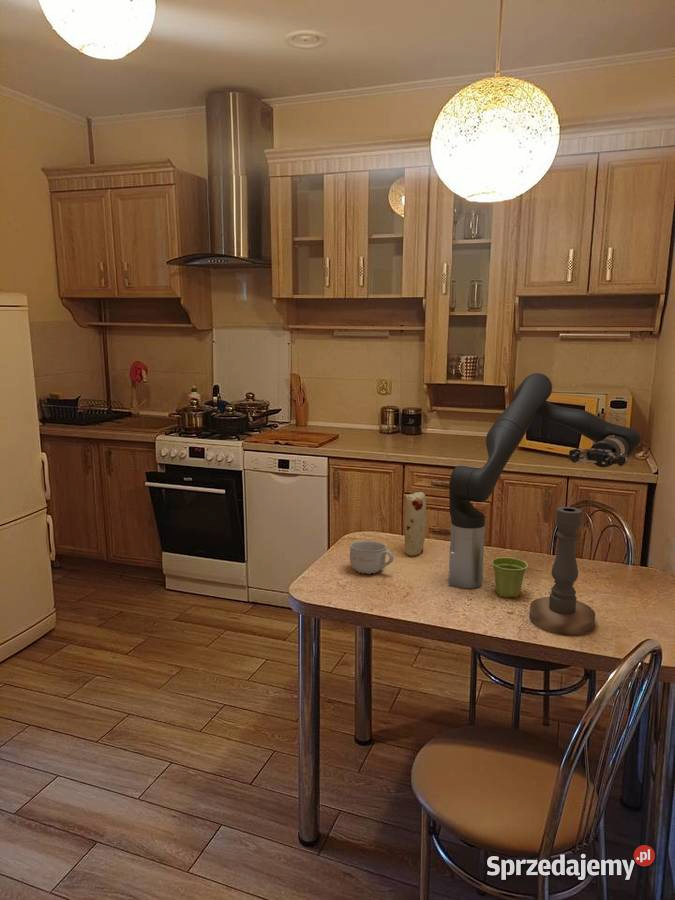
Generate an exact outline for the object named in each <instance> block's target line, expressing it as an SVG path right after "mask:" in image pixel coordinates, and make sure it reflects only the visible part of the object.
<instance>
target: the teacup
mask: <svg viewBox="0 0 675 900" xmlns="http://www.w3.org/2000/svg"><path fill="white" fill-rule="evenodd" d="M386 549H387V545H386V544H385V543H382V542H380V541H376V540H373V541H372V540H358V541H354V542H352V543H350V544H349V562H350V566H351V567H352V568H353V569H354V570H355V571H356V572H357V571H358V573H360V572H361V573H360V574H364V573H367V574H366V575H371V573H373V574H377V573H379V571H381V570H383V569H385V568H386V567H387V566H389V565H390V564H392V563H393V561H394V554H393V552H392V551H391V550H388V549H387V550H386ZM386 555H388V557H389V559H388V561H387V562H386V557H387V556H386ZM376 572H377V573H376Z"/></svg>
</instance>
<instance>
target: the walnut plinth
mask: <svg viewBox="0 0 675 900" xmlns="http://www.w3.org/2000/svg"><path fill="white" fill-rule="evenodd" d="M549 599H550V596H542V597H538V598H536V599H533V600H532V601H531V602H530V603H529V616H528V618H529V620H530V622H531V623H532V624H533V625H534V626H536V627H537V628H539V629H541V630H542V631H543V630H544V631H546V632H549V633H552V634H557V635H561V636H562V635H563V636H583V635H586V634H589V633H591V632H592V631H594V629H595V625H596V624H595V623H596V612H595V610H594V609H593V608H592V607H590V606H589V605H587V604H585V603H583V602H581V601H579V600H576V611H575V613H573V614H559V613H556V612H553V611H551V610H550V609H549Z"/></svg>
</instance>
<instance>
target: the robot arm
mask: <svg viewBox="0 0 675 900" xmlns="http://www.w3.org/2000/svg"><path fill="white" fill-rule="evenodd" d="M552 393H553V384H552V381H551V380H550V378H549V377H548V376H547V375H545V374H544V373H539V372H534V373H531V374H529V375H528V376H526V377H525V378H524V379H523V381H521V383H520V384H519V385H518V386H517V388H516V389H515V390H514V392H513V395H512V398H513V400H512V402H510V403H509V405H508V406H507V407H506V408H505V410H503V412H502V413H501V414H500V415H499V416H498V417H497V419H496V420H495V421H494V422H493V424H492V425H491V427H490V428H489V430H488V432H487V434H486V437H485V446H486V452H487V455H488V460H487V462H486V463H485V464H484V465H483V466H482V467H472V466H467V465H457V466H456V467H454V469H453V470H452V471H451V474H450V477H449V481H448V482H449V485H448V487H449V488H448V490H449V491H448V495H449V498H448V499H449V515H450V540H449V541H450V543H449V544H450V546H449V556H448V557H449V559H448V561H449V562H448V563H449V564H448V585H449V586H454V587H457V588H462V589H475V588H479V587H481V586H482V584H483V575H484V574H483V572H484V553H485V552H484V551H485V549H484V548H485V531H486V529H485V527H486V516H485V514H484V513H483V512H482V511H481V510H479V509H477V508H476V507H475V506H474V505H473V504H472V503H471V502H474V503H484V502H485V501H487V500H488V499H489V498H490V496H492V493H493V491H494V490H495V487H496V485H497V483H498V481H499V479H500V477H501V475H502V473H503V472H504V469H505V467H506V465H507V464H508V462H509V460H510V458H511V457H512V455H513V454H514V452H515V451H516V449H517V448H518V446H519V445H520V444H521V441H522V440H523V439H524V436H525V435H526V433H527V431H528V429H529V428H530V425H531V423H532V422H533V419H534V417H535V416H537V417H540V418H543V419H545V420H548V421H550V422H553V423H556V424H559V425H561V426H564V427H567V428H569V429H571V430H573V431H575V432H576V433H578V434H580V435H582V436H584V437H585V438H587V439H589V440H591V441H592V442H594V443H593V444H592V446H591V447H590V448H587V449H586V448H585V449H581V448H580V447H576V448H573V449H570V450H569V453H568V460H569V461H571V462H572V463H577V462H582V463H593V465H595V466H597V467H599V468H609V467H612V466H614V467H615V466H616V464H617V465H618V466H619V467H622V466H623V467H624V465H626V464H627V463H628V458H630V456H631V455H632V454H633V453H634V451H635V450H636V448H638V446H639V445H640V443H641V442H642V437H641V435H640V433H639V432H638V431H637V430H635V429H633V428H630V427H627V426H624V425H623V426H622V425H619V424H615V423H612V422H609V421H606V420H604V419H602V418H601V417H599V416H597V415H596V414H593V413H592V412H589V411H586V410H583V409H578V408H571V407H566V406H564V407H563V406H560V405H559V406H558V405H556V404H553V403H551V402H549V401H547V400H548V399H549V398H550V397H551V395H552Z"/></svg>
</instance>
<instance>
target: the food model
mask: <svg viewBox="0 0 675 900" xmlns="http://www.w3.org/2000/svg"><path fill="white" fill-rule="evenodd" d="M426 498H427V497H426V494H425V493H424V492H423V491H418V492H417V491H416V492H413V493H410V494H406V495H405V506H404V507H405V508H404V521H403V524H404V526H403V527H404V528H403V529H404V530H403V533H404V553H405V554H406V555H408V556H409V555H410V556H413V555H415V556H417V554H418V555H420V554H421V553H422V552H423V551H424V545H425V540H426V534H427V533H426V532H427V520H428V519H427V518H428V517H427V499H426ZM410 556H409V557H410Z"/></svg>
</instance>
